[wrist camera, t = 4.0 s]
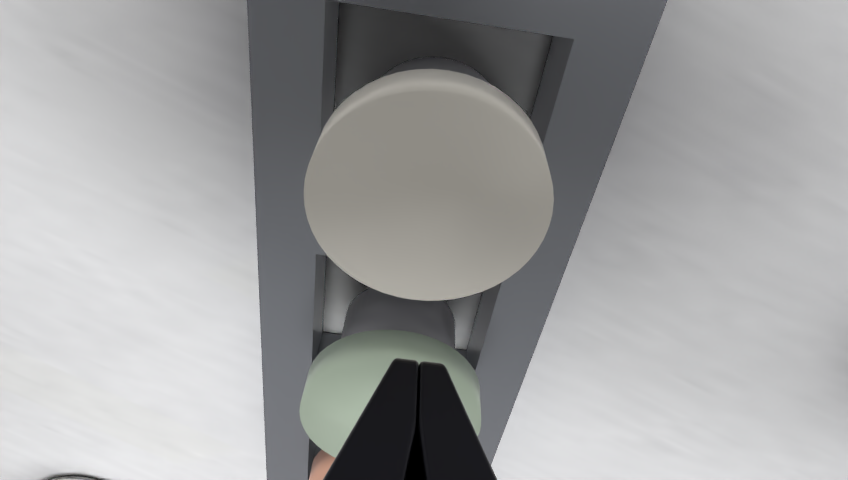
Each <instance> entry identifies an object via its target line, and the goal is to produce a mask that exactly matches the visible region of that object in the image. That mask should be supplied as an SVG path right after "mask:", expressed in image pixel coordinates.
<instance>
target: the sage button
mask: <svg viewBox="0 0 848 480" xmlns="http://www.w3.org/2000/svg"><path fill="white" fill-rule="evenodd" d="M396 358H401V359H409V360H415V361H417V362H418V364H420V363H421V362H423V361H426V362H434V363H441V364H443V365H445V367H446V368H447V370H448V373H449V375H450V377H451V379H452V381H453V384H454V386H455V388H456V390H457V392H458V395H459V397H460V399H461V401H462V403H463V406H464V408H465V410H466V412H467V414H468V417H469V419H470V421H471V423H472V425H473V428H474V430H475V432H476V434H477V436H478V435H479V433H480V428H481V404H480V385H479V380H478V377H477V375H476V372H475V371H474V369H473V367H472V366H471V364H470V363H469V362H468V361H467V360H466V359H465V357H463V356H462V355H461V354H460V353H459V352H458V351H456V350H455V322H454V317H453V314H452V311H451V310H450V308H449V306H448V305H447V304H446V303H445V301H443V300H441V301H423V300H412V299H406V298H400V297H396V296H392V295H389V294H385V293H382V292H380V291H377V290H375V289H372V288H370V289H367V290H365V291H364V292H362V293H361V294H359V295H358V296H357V297H356V298H355V299H354V300H353V301H352V302H351V304H350V305H349V307H348V310H347V312H346V317H345V322H344V327H343V332H342V337H341V339H339V340H337V341H335V342H333V343H332V344H330V345H329V346H327V347H326V348H325V349H324V350H322V351H321V352H320V353H319V354H318V355H317V357H316V358H315V359H314V361H313V362H312V364H311V366H310V369H309V372H308V376H307V379H306V383H305V387H304V391H303V395H302V399H301V403H300V410H299V412H300V420H301V423H302V426H303V428H304V430H305V432H306V433H307V435H308V436H309V438H310V439H311V440H312V441H313V442H314V443H315V444H316V445H317V446H318V447H320V448H321V449H322V450H323V451H325V452H326V453H328V454H329V455H331V456H333V457H335V458H336V456H337V455H338V453H339V451H340V449H341V448H342V446H343V444H344V443H345V441H346V439H347V437H348V436H349V434H350V432H351V431H352V429H353V427H354V426H355V424H356V422H357V420H358V419H359V417H360V415H361V414H362V412H363V410H364V408H365V407H366V405H367V403H368V402H369V400H370V398H371V397H372V395H373V393H374V391H375V390H376V388H377V386H378V385H379V383H380V381H381V380H382V378H383V376H384V374H385V373H386V371H387V369H388V368H389V366H390V364H391V363H392V361H393V360H394V359H396Z"/></svg>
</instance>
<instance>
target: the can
mask: <svg viewBox="0 0 848 480" xmlns="http://www.w3.org/2000/svg"><path fill="white" fill-rule="evenodd" d="M51 480H98V479H94V478H89V477H81V476H63V477H57V478H53V479H51Z"/></svg>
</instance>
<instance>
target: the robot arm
mask: <svg viewBox="0 0 848 480" xmlns="http://www.w3.org/2000/svg"><path fill="white" fill-rule="evenodd" d="M323 480H497V478H496V476H495V474H494V472H493V469H492V467H491V465H490V463H489V461H488V458H487V456H486V454H485V452H484V450H483V447H482V445H481V443H480V441H479V439H478V436H477V434H476V432H475V430H474V428H473V425H472V423H471V421H470V419H469V417H468V414H467V412H466V410H465V408H464V406H463V403H462V401H461V399H460V397H459V395H458V392H457V390H456V388H455V386H454V384H453V381H452V379H451V377H450V375H449V373H448V370H447V368H446V367H445V365H443V364H441V363H434V362H426V361H423V362H421V363H420V364H418V362H417V361H415V360H409V359H401V358H396V359H394V360H393V361H392V363H391V364H390V366H389V368H388V369H387V371H386V373H385V374H384V376H383V378H382V380H381V381H380V383H379V385H378V386H377V388H376V390H375V391H374V393H373V395H372V397H371V398H370V400H369V402H368V403H367V405H366V407H365V408H364V410H363V412H362V414H361V415H360V417H359V419H358V420H357V422H356V424H355V426H354V427H353V429H352V431H351V432H350V434H349V436H348V437H347V439H346V441H345V443H344V444H343V446H342V448H341V449H340V451H339V453H338V455H337V456H336V458H335V460H334V461H333V463H332V465H331V466H330V468H329V470H328V472H327V473H326V475H325V477H324V478H323Z"/></svg>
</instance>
